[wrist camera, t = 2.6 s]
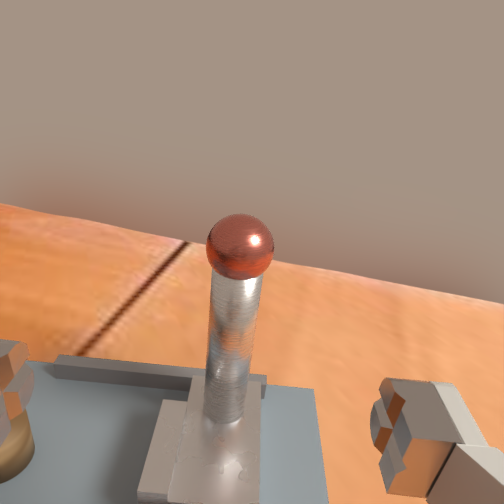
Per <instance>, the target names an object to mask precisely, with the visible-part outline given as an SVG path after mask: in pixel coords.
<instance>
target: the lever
mask: <svg viewBox="0 0 504 504" xmlns="http://www.w3.org/2000/svg"><path fill="white" fill-rule="evenodd" d="M206 253H207V258H208V260H209V263H210V265H211V266H212V280H211V295H210V310H209V325H208V340H207V355H206V370H205V376H197V375H193V378H192V382H191V387H190V392H189V396H188V401H187V402H186V401H176V400H165V399H163V402H162V405H161V409H160V412H159V416H158V419H157V423H156V426H155V430H154V433H153V437H152V440H151V444H150V447H149V451H148V454H147V458H146V461H145V465H144V468H143V472H142V475H141V479H140V482H139V486H138V489H137V500H138V504H259V489H260V422H261V382H257V381H248V380H249V372H250V365H251V358H252V351H253V343H254V336H255V329H256V322H257V314H258V307H259V300H260V293H261V285H262V278H263V272H264V271H265V270H266V269H267V268H268V266H269V265H270V263H271V260H272V258H273V254H274V242H273V238H272V235H271V233H270V231H269V229H268V228H267V227H266V225H264V223H263V222H262V221H260V220H259V219H257V218H255V217H253V216H250V215H247V214H233V215H230V216H227V217H225V218H223V219H221V220H220V221H219V222H217V223H216V224H215V225H214V227H213V228H212V229H211V231H210V233H209V235H208V238H207V243H206Z"/></svg>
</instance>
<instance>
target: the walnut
mask: <svg viewBox="0 0 504 504" xmlns="http://www.w3.org/2000/svg"><path fill="white" fill-rule="evenodd" d="M10 425H11V431H10V433H9V434H8V436H7V437H6V439H5V440H4V442H3V444H2V445H1V447H0V484H1V483H4V482H7V481H9V480H11V479H12V478H14V477H16V476H17V475H18V474H20V473H21V472H22V471H23V470H24V469H25V468H26V467H27V466H28V464H29V463H30V461H31V460H32V458H33V455H34V452H35V444H34V440H33V435H32V431H31V427H30V423H29V419H28V415H27V411H26V409H24V411H23V412H22V413H21V414H19V415H18V416H16V417H14V418H13V419H11V420H10Z"/></svg>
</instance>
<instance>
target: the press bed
mask: <svg viewBox="0 0 504 504" xmlns="http://www.w3.org/2000/svg"><path fill="white" fill-rule="evenodd" d="M25 363H26V364H27V365H28V366H29V367H30V368H31V369H32V370H33V373H34V389H33V392H32V395H31V398H30V401H29V403H28V404H27V406H26V408H25V409H26V411H27V415H28V419H29V423H30V427H31V431H32V435H33V440H34V444H35V452H34V455H33V458H32V460H31V461H30V463H29V464H28V466H27V467H26V468H25V469H24V470H23V471H22V472H21V473H20V474H18V475H17V476H16V477H14V478H12V479H11V480H9V481H7V482H4V483H1V484H0V504H138V500H137V489H138V486H139V482H140V479H141V475H142V472H143V468H144V465H145V461H146V458H147V454H148V451H149V447H150V444H151V440H152V437H153V433H154V430H155V426H156V423H157V419H158V416H159V412H160V409H161V405H162V402H163V399H165V400H176V401H186V402H187V401H188V396H189V392H190V387H191V382H192V378H193V375H197V376H205V370H206V369H199V368H189V367H179V366H169V365H159V364H149V363H139V362H129V361H119V360H109V359H99V358H89V357H79V356H69V355H59V356H58V357H57V359H56V360H55V362H54V363H47V362H37V361H27V360H26V361H25ZM248 381H257V382H261V422H260V489H259V504H329V501H328V493H327V486H326V478H325V471H324V463H323V456H322V449H321V441H320V434H319V426H318V419H317V411H316V404H315V397H314V389H308V388H298V387H288V386H278V385H268V384H267V375H259V374H249V380H248Z"/></svg>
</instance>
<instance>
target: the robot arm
mask: <svg viewBox="0 0 504 504" xmlns="http://www.w3.org/2000/svg"><path fill="white" fill-rule="evenodd" d="M29 356H30V354H29V351H28V347H27V344H26V343H23V342H19V341H11V340H3V339H0V447H1V445H2V444H3V442H4V440H5V439H6V437H7V436H8V434H9V433H10V431H11V425H10V420H11V419H13V418H14V417H16V416H18V415H19V414H21V413H22V412H23V411H24V409H25V408H26V406H27V404H28V403H29V401H30V398H31V395H32V392H33V389H34V373H33V370H32V369H31V368H30V367H29V366H28V365H27V364H26V363H25V361H26V360H27V358H28V357H29ZM379 391H380V394H381V397H382V398H380V399H379V400H378V401H376V402H375V403H374V405H373V408H372V411H371V418H370V429H371V436H372V440H373V444H374V446H375V447H376V448H377V449H378V450H379V451H380V452H381V453H382V454H383V455H382V457H381V460H380V462H379V466H380V470H381V474H382V477H383V481H384V484H385V488H386V492H387V494H394V495H402V496H411V497H419V498H427V499H426V501H427V502H428V504H504V453H502V452H501V451H500V450H499V449H497V448H496V447H489V445H488V443H487V442H486V440H485V438H484V436H483V435H482V433H481V431H480V429H479V427H478V426H477V424H476V422H475V420H474V418H473V417H472V415H471V413H470V411H469V409H468V408H467V406H466V404H465V402H464V400H463V399H462V397H461V395H460V393H459V392H458V390H457V388H456V387H455V386H454V385H453V384H452V383H444V382H432V381H429V382H427V381H420V380H409V379H397V378H385V379H384V380H383V381H382V383H381V385H380V388H379Z"/></svg>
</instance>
